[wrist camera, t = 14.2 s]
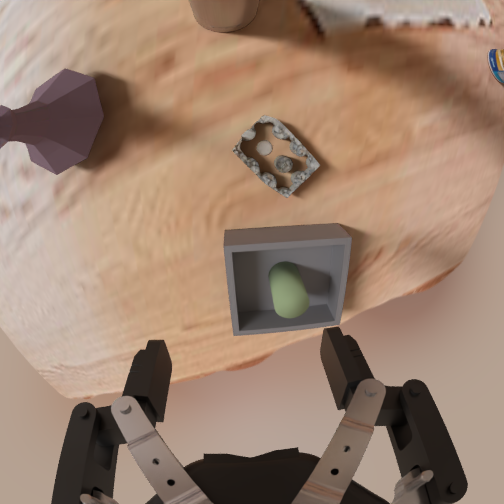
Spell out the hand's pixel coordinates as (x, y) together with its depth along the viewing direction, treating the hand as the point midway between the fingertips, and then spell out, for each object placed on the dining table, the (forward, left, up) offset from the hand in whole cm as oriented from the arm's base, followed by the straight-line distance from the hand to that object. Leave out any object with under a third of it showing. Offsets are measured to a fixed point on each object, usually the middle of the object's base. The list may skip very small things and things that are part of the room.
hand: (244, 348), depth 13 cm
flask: (-16, -25, -30) cm, 42 cm away
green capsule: (+13, +7, -29) cm, 32 cm away
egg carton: (-6, +6, -30) cm, 32 cm away
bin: (+13, +7, -30) cm, 33 cm away
